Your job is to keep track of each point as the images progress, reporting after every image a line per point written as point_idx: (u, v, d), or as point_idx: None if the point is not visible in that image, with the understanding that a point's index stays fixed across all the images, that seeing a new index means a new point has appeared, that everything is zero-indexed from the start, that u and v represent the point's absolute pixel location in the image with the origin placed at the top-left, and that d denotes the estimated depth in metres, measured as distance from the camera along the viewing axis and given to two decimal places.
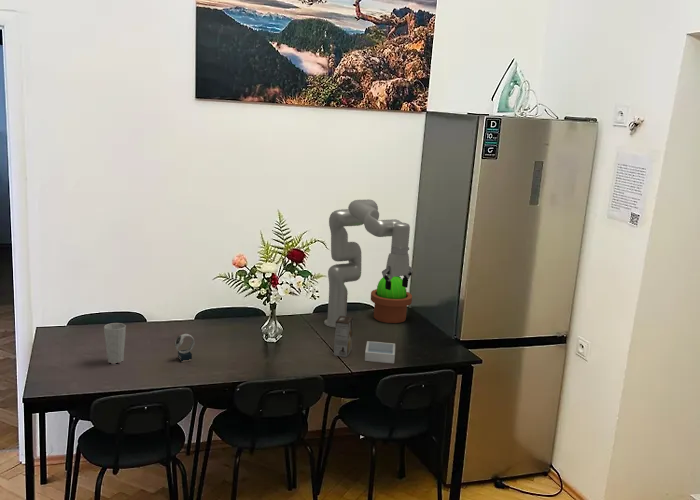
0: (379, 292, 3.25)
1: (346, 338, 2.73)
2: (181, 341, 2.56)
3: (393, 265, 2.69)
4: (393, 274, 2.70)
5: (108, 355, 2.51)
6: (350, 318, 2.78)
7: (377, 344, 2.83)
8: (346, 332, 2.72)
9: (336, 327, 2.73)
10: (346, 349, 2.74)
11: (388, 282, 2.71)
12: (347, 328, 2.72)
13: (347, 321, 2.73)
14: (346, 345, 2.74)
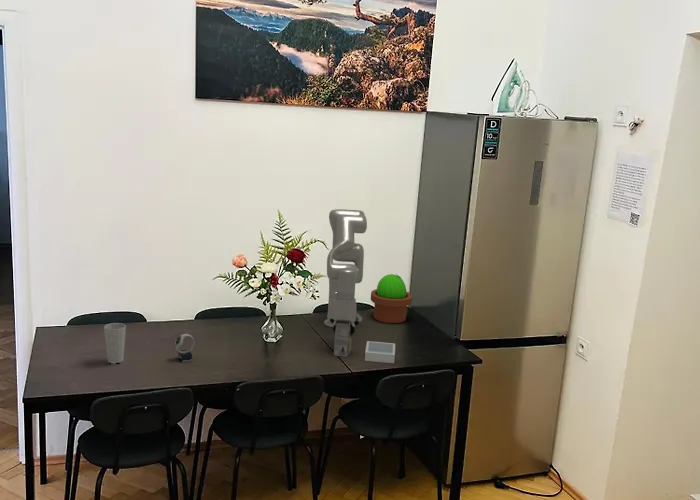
0: (379, 292, 3.25)
1: (346, 338, 2.73)
2: (181, 341, 2.56)
3: None
4: None
5: (108, 355, 2.51)
6: None
7: (377, 344, 2.83)
8: (346, 332, 2.72)
9: (336, 327, 2.73)
10: (346, 349, 2.74)
11: None
12: (347, 328, 2.72)
13: (347, 321, 2.73)
14: (346, 345, 2.74)
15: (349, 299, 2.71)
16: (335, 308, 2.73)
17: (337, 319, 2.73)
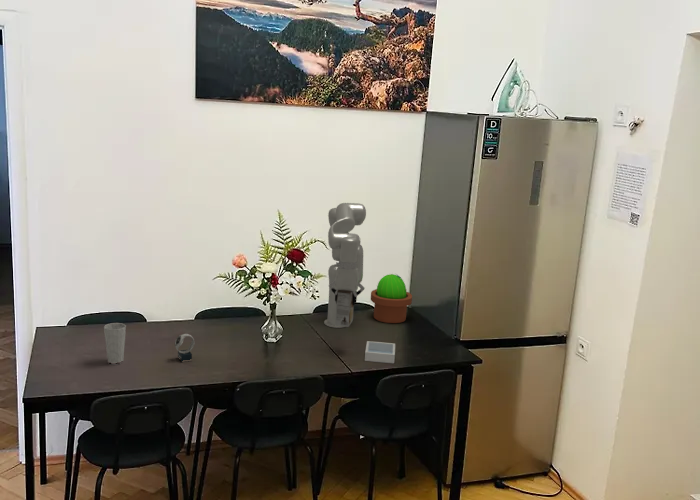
0: (379, 292, 3.25)
1: (348, 308, 2.70)
2: (181, 341, 2.56)
3: None
4: None
5: (108, 355, 2.51)
6: None
7: (377, 344, 2.83)
8: (348, 302, 2.70)
9: (338, 297, 2.70)
10: (348, 319, 2.72)
11: None
12: (349, 298, 2.69)
13: (349, 291, 2.71)
14: (348, 315, 2.71)
15: (351, 268, 2.68)
16: (337, 277, 2.70)
17: (339, 289, 2.71)
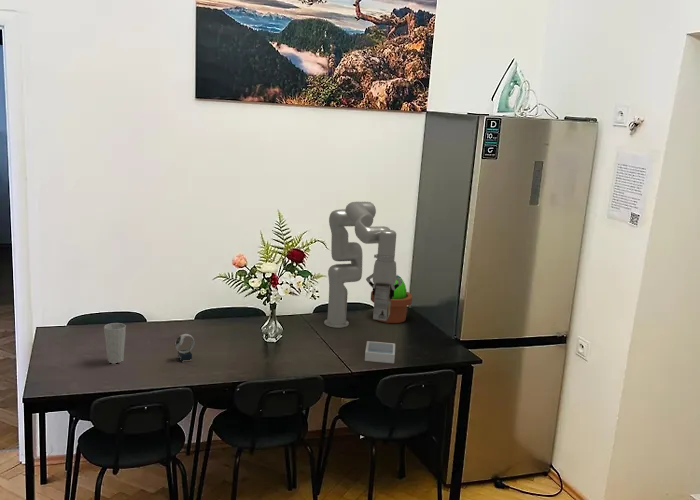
0: None
1: (386, 301, 2.68)
2: (181, 341, 2.56)
3: None
4: None
5: (108, 355, 2.51)
6: None
7: (377, 344, 2.83)
8: (386, 295, 2.67)
9: (376, 290, 2.68)
10: (386, 312, 2.69)
11: None
12: (387, 291, 2.67)
13: (387, 284, 2.68)
14: (386, 308, 2.68)
15: (389, 261, 2.66)
16: (375, 271, 2.68)
17: (377, 282, 2.68)
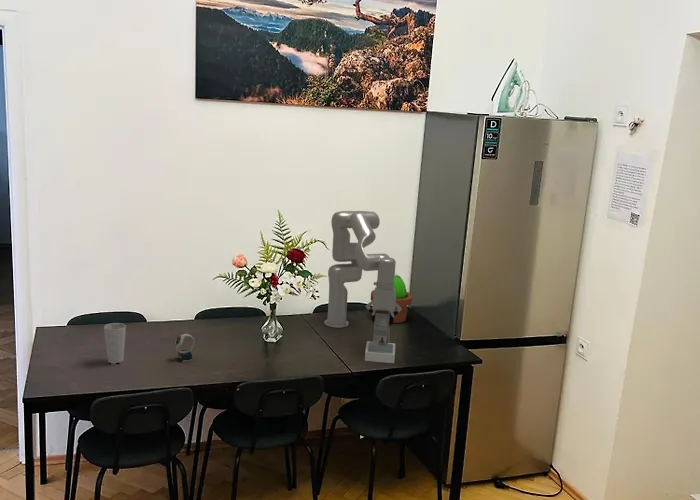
0: None
1: (385, 328, 2.70)
2: (181, 341, 2.56)
3: None
4: None
5: (108, 355, 2.51)
6: None
7: None
8: (385, 322, 2.70)
9: (376, 317, 2.70)
10: (385, 339, 2.71)
11: None
12: (387, 318, 2.69)
13: (386, 311, 2.71)
14: (385, 335, 2.71)
15: (389, 289, 2.68)
16: (374, 298, 2.70)
17: (376, 309, 2.71)
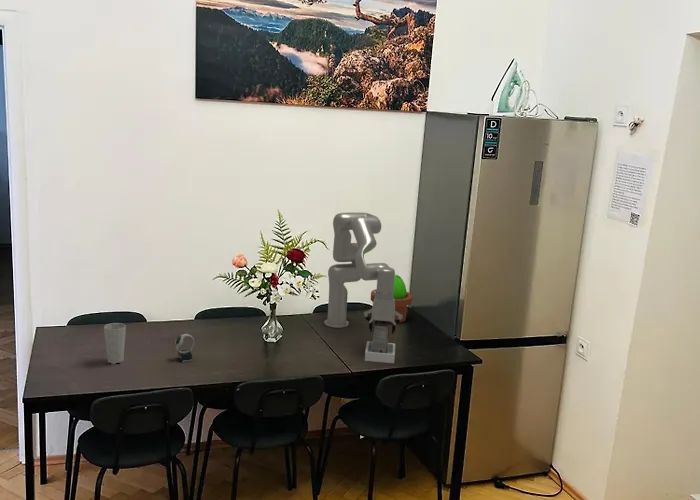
0: None
1: (384, 340, 2.72)
2: (181, 341, 2.56)
3: None
4: None
5: (108, 355, 2.51)
6: None
7: None
8: (384, 334, 2.71)
9: (374, 330, 2.71)
10: (384, 352, 2.73)
11: None
12: (385, 330, 2.71)
13: (385, 323, 2.72)
14: (384, 347, 2.73)
15: (388, 298, 2.69)
16: (374, 307, 2.71)
17: (376, 319, 2.72)
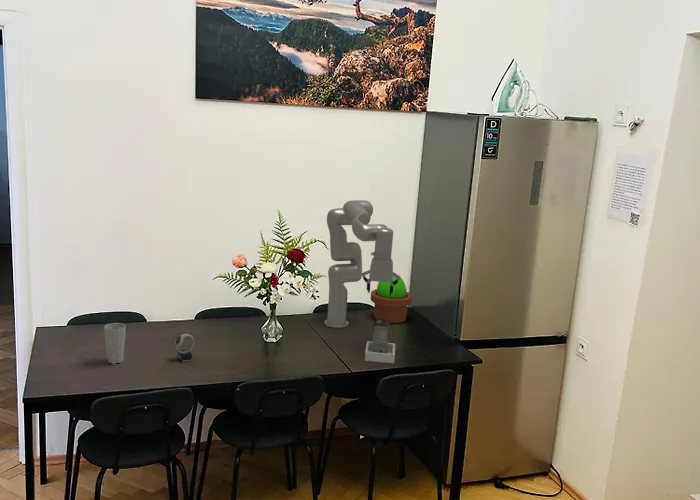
0: (379, 292, 3.25)
1: (384, 340, 2.72)
2: (181, 341, 2.56)
3: None
4: None
5: (108, 355, 2.51)
6: (387, 320, 2.77)
7: None
8: (384, 334, 2.71)
9: (374, 330, 2.71)
10: (384, 351, 2.73)
11: None
12: (385, 330, 2.71)
13: (385, 323, 2.72)
14: (384, 347, 2.73)
15: (386, 259, 2.68)
16: (372, 268, 2.70)
17: (373, 279, 2.71)
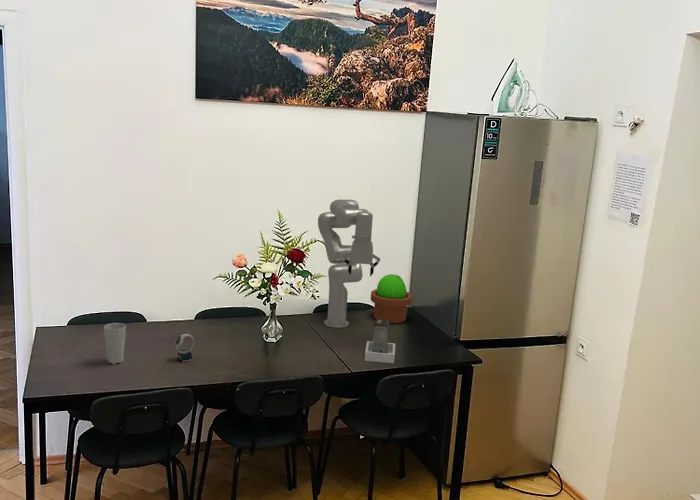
0: (379, 292, 3.25)
1: (384, 340, 2.72)
2: (181, 341, 2.56)
3: None
4: None
5: (108, 355, 2.51)
6: (387, 320, 2.77)
7: None
8: (384, 334, 2.71)
9: (374, 330, 2.71)
10: (384, 352, 2.73)
11: None
12: (385, 330, 2.71)
13: (385, 323, 2.72)
14: (384, 347, 2.73)
15: (366, 241, 2.79)
16: (352, 250, 2.82)
17: (354, 261, 2.82)
